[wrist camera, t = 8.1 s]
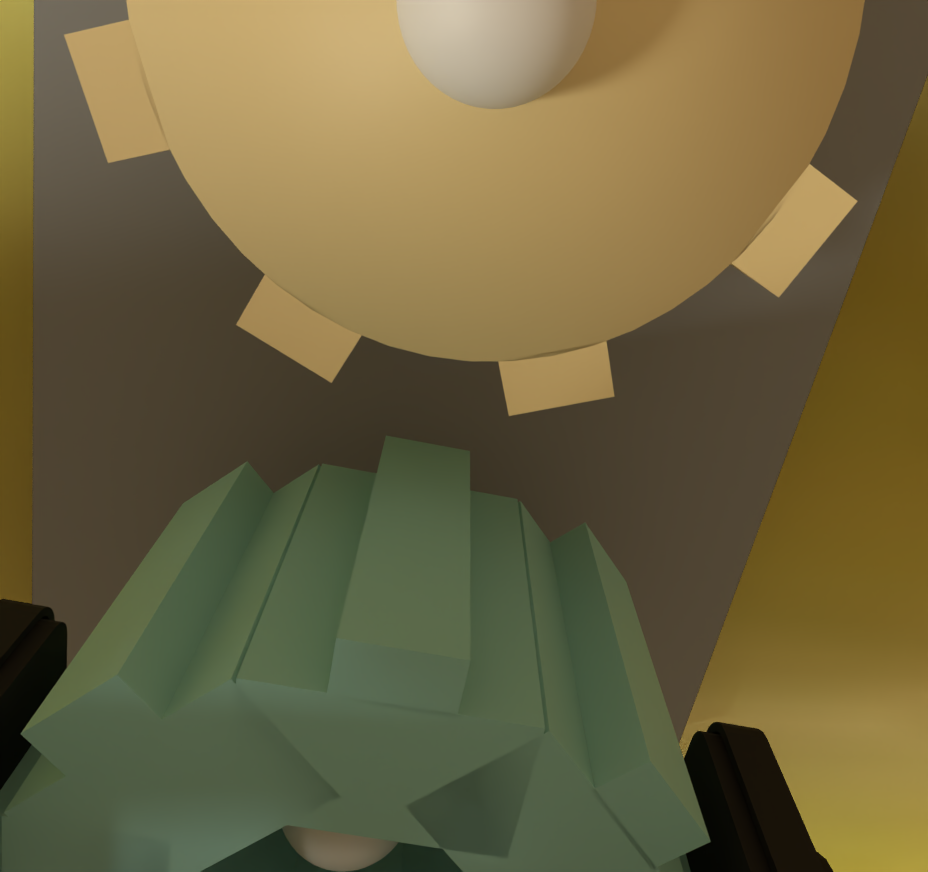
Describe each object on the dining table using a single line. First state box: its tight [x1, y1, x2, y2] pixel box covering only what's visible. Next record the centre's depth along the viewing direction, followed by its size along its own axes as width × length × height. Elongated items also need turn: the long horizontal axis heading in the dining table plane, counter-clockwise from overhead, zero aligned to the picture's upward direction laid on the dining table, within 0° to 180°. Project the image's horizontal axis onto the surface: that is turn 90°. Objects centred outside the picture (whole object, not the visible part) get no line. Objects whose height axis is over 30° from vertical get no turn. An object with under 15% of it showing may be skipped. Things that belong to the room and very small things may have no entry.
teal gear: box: [0, 436, 711, 872], centre depth 10 cm, size 8×8×4 cm
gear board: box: [32, 0, 928, 872], centre depth 11 cm, size 17×12×8 cm
